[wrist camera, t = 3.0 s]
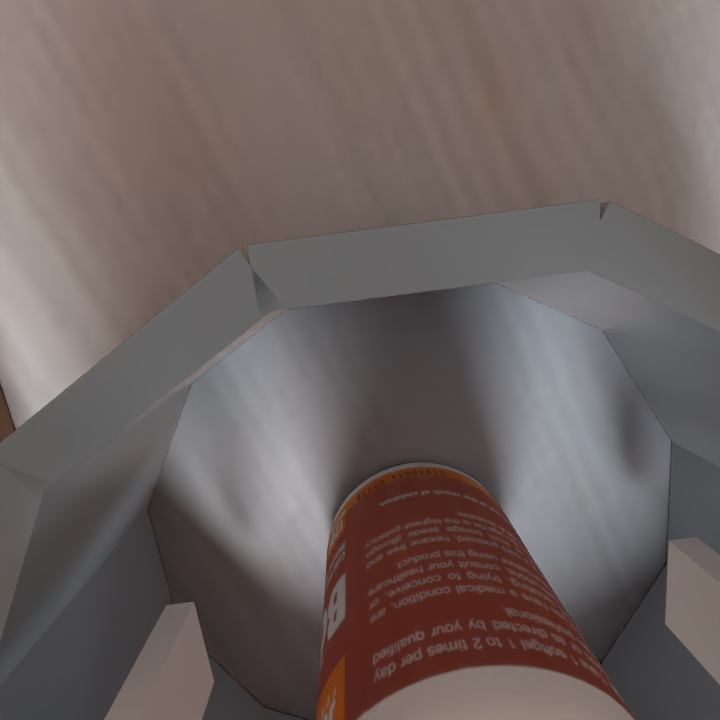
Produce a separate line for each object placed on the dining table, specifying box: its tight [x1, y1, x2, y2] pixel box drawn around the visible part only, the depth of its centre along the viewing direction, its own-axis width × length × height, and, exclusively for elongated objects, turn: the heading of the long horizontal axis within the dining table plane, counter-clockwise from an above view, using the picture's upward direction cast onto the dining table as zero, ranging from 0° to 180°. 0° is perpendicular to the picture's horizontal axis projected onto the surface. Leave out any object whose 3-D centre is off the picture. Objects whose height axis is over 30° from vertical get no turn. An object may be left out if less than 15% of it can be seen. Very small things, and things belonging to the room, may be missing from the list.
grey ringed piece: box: [0, 200, 720, 720], centre depth 11 cm, size 20×20×6 cm
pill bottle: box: [316, 462, 636, 720], centre depth 9 cm, size 6×6×11 cm
